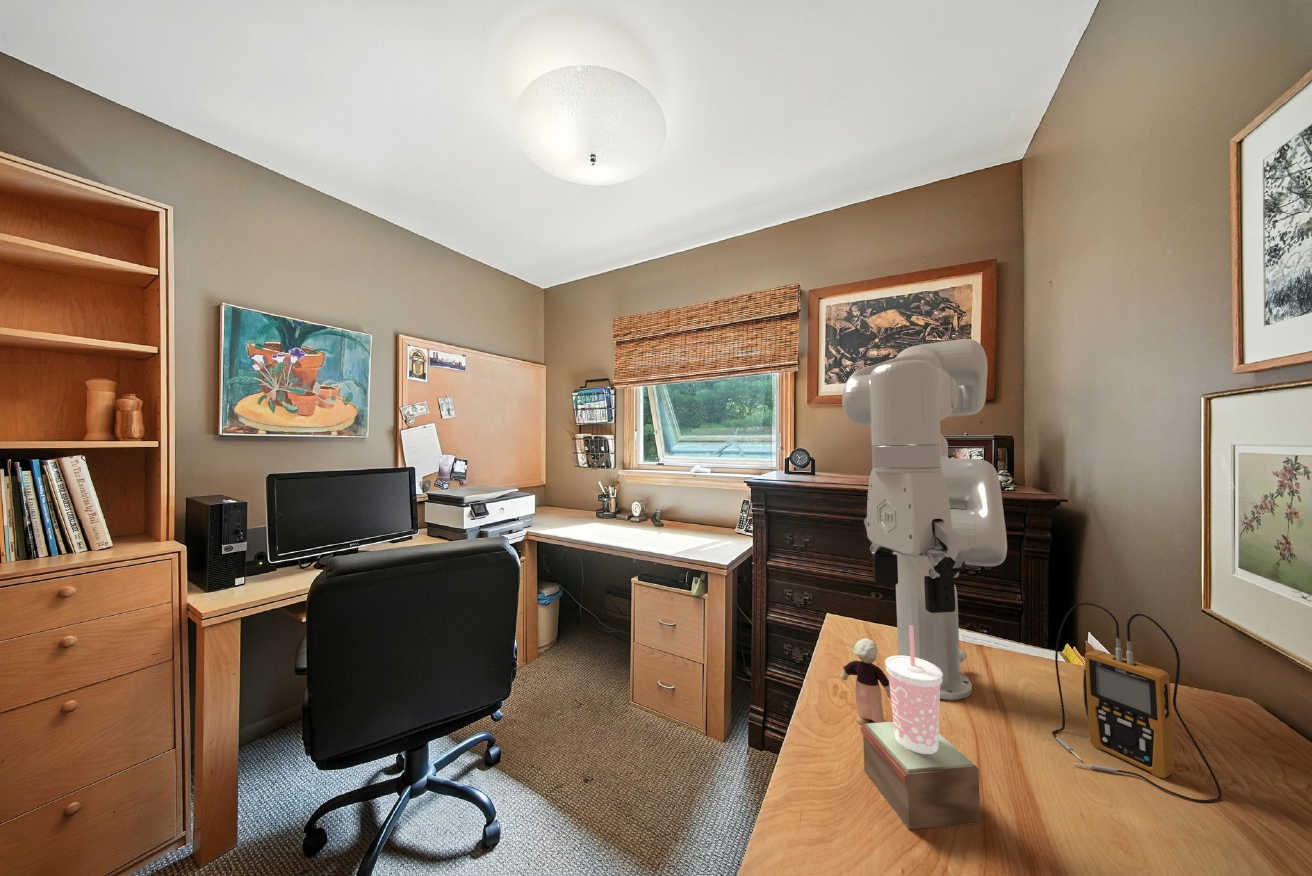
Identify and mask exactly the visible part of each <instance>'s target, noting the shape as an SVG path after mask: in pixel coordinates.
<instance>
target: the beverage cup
mask: <svg viewBox="0 0 1312 876" xmlns="http://www.w3.org/2000/svg"><path fill="white" fill-rule="evenodd" d="M909 636H910V656H904V655H900V656H898V655H891V656H888V657H887V658H885V660H884V663H885V669H886V672H887V673H888V680H889V685H890V695H891V699H890V700H891V701H890V705H891V711H892V722H893V724H894V733H895V738H896V740H897V741H898V742H899V743H900V744H901V745H902V746H904V747H905V748H907V749H909V750H912V751H914V752H917V753H922V754H933V753H935V752H937V750H938V741H939V734H940V732H939V731H940V705H941V703H940V701H941V699H940V685H941V683H942V681H943V680H942V677H943V674H942V672H941V670H940V669H939V668H938V667H937V666H935V665H934V664H932V663H930V662H928V661H925V660H923V659H919V658H916V657H915V651H914V627H913V626H911V625H909Z"/></svg>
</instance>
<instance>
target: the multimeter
mask: <svg viewBox="0 0 1312 876" xmlns="http://www.w3.org/2000/svg"><path fill="white" fill-rule="evenodd" d="M1085 605H1089V606H1094V607H1096V608H1098V609H1102V610H1103V611H1104V612H1106V613H1108V614H1109V616H1110V617H1111V618H1112V619H1113V621H1114V623H1115V631H1116V638H1115V640H1116V641H1115V642H1116V643H1115V644H1116V647H1115V654H1112V653H1110V652H1109V653H1108V652H1106V651H1105V650H1099V649H1094V650H1091V651H1088V652H1086V653H1084V663H1085V666H1084V667H1085V668H1083V681H1082V682H1083V702H1084V708H1085V713H1086V716H1087V718H1088V728H1089V729H1088V730H1089V742H1090V744H1091V745H1092V746H1093V747H1094V748H1097V749H1098V750H1100V751H1104V752H1106V753H1109V754H1111V755H1113V756H1115V757H1118V758H1119V759H1122V760H1123V761H1126V762H1127V763H1129V764H1132V765H1134V766H1136V767H1138V768H1141V769H1143V770H1145V771H1147V772H1149V773H1151V775H1153V776H1155V777H1158V778H1160V779H1165V778H1168V777H1169V776H1170V775H1171V774H1173V773H1174V772H1175V760H1174V755H1175V753H1174V736H1173V735H1174V734H1173V733H1174V732H1173V716H1172V715H1173V713H1172V704H1173V709H1174V712H1175V715H1177V718H1178V719H1179V721H1180V723H1181V724H1182V726H1183V728H1184V730H1185V731H1186V733H1187V735H1188V736H1189V738H1190V740H1191V742H1193V744H1194V746H1195V748H1196V750H1197V751H1198V753H1199V755H1200V756H1201V758H1202V759H1203V760H1202V761H1204V764H1205V765H1206V767H1207V769H1208V771H1209V773H1210V774H1211V777H1212V779H1213V781H1214V784H1215V787H1216V788H1217V794H1218V795H1217V796H1216V797H1215V798H1210V799H1209V798H1208V799H1197V798H1194V797H1189V796H1185V795H1182V794H1179V793H1177V792H1173V791H1172V790H1169V789H1167V788H1165V787H1163V786H1161V785H1158V784H1157V783H1155V782H1153V781H1151V780H1150V779H1149V778H1148V777H1145V776H1143V775H1141V774H1138V773H1136V772H1131V771H1127V770H1121V769H1117V768H1113V767H1109V766H1102V765H1096V764H1092V763H1089V764H1082V763H1077V762H1073V763H1072V765H1076V766H1079V767H1080V766H1082V767H1087V768H1089V769H1091V770H1098V771H1102V772H1103V771H1104V772H1108V773H1109V772H1110V773H1122V774H1127V775H1133V776H1137V777H1138V778H1142V779H1143V780H1145V781H1147V782H1148V783H1150V784H1152V785H1153V786H1155V787H1157V788H1159V789H1160V790H1162V791H1164V792H1167V793H1169V794H1172V795H1175V796H1176V797H1180V798H1183V799H1185V800H1188V801H1193V802H1198V803H1213V802H1214V803H1215V802H1218V801H1221V799H1222V798H1223V794H1222V788H1221V786H1220V784H1219V781H1218V779H1217V777H1216V776H1215V773H1214V771H1213V770H1212V767H1211V766H1210V764H1209V763H1208V760H1207V759H1206V757H1205V754H1204V753H1203V751H1202V750H1201V748H1200V747H1199V744H1197V742H1196V740H1195V739H1194V736H1193V735H1192V733H1191V732H1190V729H1189V728H1188V726H1187V725H1186V723H1185V721H1184V720H1183V718H1182V716H1181V715H1180V712H1179V711H1178V707H1177V693H1178V687H1179V682H1180V681H1179V680H1180V670H1181V658H1180V653H1179V650H1178V648H1177V646H1176V644H1175V642H1174V641H1173V638H1172V637H1171V635H1170V634H1169V633H1167V631H1166V630H1165V629H1164V627H1162V626H1161V625H1160V624H1159V623H1158V622H1157V621H1156V620H1154V619H1153V618H1151V617H1149V616H1148V615H1146V614H1144V613H1136V614H1133V615H1132V616H1131V617H1129V618H1128V621H1127V624H1126V638H1127V640H1126V648H1127V650H1126V658H1124V657H1123V650H1122V649H1123V648H1121V638H1120V630H1119V629H1120V627H1119V625H1120V624H1119V623H1118V620H1117V618H1116V617H1115V616H1114V615H1113V614H1112V613H1111V612H1110V611H1109V610H1108V609H1106V608H1104V606H1103V607H1102V606H1101V605H1098V604H1096V603H1089V602H1079V603H1077V604H1076V605H1073V606H1072V607H1071V608H1070V609H1069V610H1068V611H1067V612H1066V614H1065V616H1064V617H1063V619H1062V622H1061V624H1060V626H1059V630H1058V634H1057V638H1056V644H1055V653H1054V655H1055V657H1054V661H1055V671H1056V679H1057V686H1058V691H1059V699H1060V705H1061V706H1060V707H1061V713H1062V714H1061V715H1062V725H1061V727H1060V728H1058V729H1055V730H1052V731H1051V735H1052V736H1053V737H1054V738H1055V739H1056V740H1057V741H1058V742H1059V743H1060V744H1061V745H1062V746H1063V747H1064V748H1065V749H1066V750H1067V751H1068V752H1069V753H1072V754H1073V755H1074V756H1075V757H1076V758H1077V759H1079V760H1080V761H1082V759H1081V757H1080V756H1079V755H1077V753H1076V752H1074V748H1071V746H1069V745H1068V744H1067V743H1066V742H1065V741H1064V740H1063V739H1061V738H1060V737H1059V736H1057V735H1056V734H1055V733H1058V732H1062V731H1063V730H1065V726H1066V718H1065V717H1066V715H1065V706H1064V701H1063V693H1062V687H1061V680H1060V673H1059V664H1058V663H1059V662H1058V661H1059V658H1058V657H1059V656H1058V654H1059V644H1060V639H1061V634H1062V631H1063V628H1064V625H1065V623H1066V621H1067V619H1068V617H1069V616H1070V613H1072V612H1073V611H1074V610H1075V609H1076V608H1077V607H1080V606H1085ZM1136 617H1144V618H1146V619H1148V620H1150V622H1152V623H1153V624H1154V625H1156V626H1157V627H1158V628H1159V629H1160V630H1161V631H1162V632H1163V633H1164V635H1165V636H1166V637H1167V638H1168V641H1170V644H1171V646H1172V647H1173V649H1174V652H1175V657H1176V658H1175V659H1176V672H1175V681H1174V686H1173V688H1174V689H1173V695H1171V681H1170V673H1168V672H1167V671H1165V670H1164V669H1161V668H1159V667H1156V666H1150V665H1148V664H1147V665H1146V664H1144V663H1141V662H1138V661H1134V652H1133V650H1132V649H1133V648H1132V641H1131V623H1132V621H1133V619H1134V618H1136ZM1171 696H1172V697H1171ZM1171 698H1172V699H1171Z"/></svg>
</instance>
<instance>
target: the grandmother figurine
mask: <svg viewBox="0 0 1312 876" xmlns="http://www.w3.org/2000/svg"><path fill="white" fill-rule="evenodd" d="M853 649H854V650H853V653H854V654H855V655H856V656H858V659H860V660H852V661H850V662H848V663H847V664H846V665H844V666H843V670H842V673H841V674H840V678H841V680H843V681H847V680H848V679H849V676H856V679H855V703H856V711H857V712H856V713H857V716H856V722H857V723H858V724H859V725H861V726H863V725H864V724H867V723H871V722H872V723H881V722H887V720H885V717H884V715H885V714H884V708H883V698H882V689H881V686H882V687H883V689H884V691H885V692H886V696H887V698H889V699H890V700H891V695H890V685H889V678H888V677H887V675H886V674H885V673H884V671H883V670H882V669H881V668H880V667H879V666H877V665H876V664H874V662H875V661H876V658H877V654H878V649H877V644H876V643H875V642H874V641H873V640H871V639H869V638H868V637H867V638H862V639H860V640H858V641H857V642H856V643H855V645H854V648H853ZM879 683H880V684H879ZM880 685H881V686H880Z"/></svg>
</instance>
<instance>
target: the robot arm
mask: <svg viewBox="0 0 1312 876" xmlns="http://www.w3.org/2000/svg"><path fill="white" fill-rule="evenodd" d="M987 382H988V358H987V354H986V351H985V349H984V348H983V346H982V344H981V343H979V342H978V341H977V340H975V339H972V338H960V339H955V340H953V339H952V340H946V341H939V342H931V343H930V342H929V343H924V344H922V343H921V344H917V345H912V346H909V347H907V348H905V349H903V350H902V351H900V352H899V353H898V354H897V355H896V357H894V358H891V359H888V360H885V361H883V362H879V363H876V364H873V365H870V366H869V365H868V366H867V367H866V366H865V367H863V368H860V369H858V370H856V371H855V372H853V373H852V374H851V375H850V376H849V377H848V379H847V380H846V382H845V384H844V387H843V390H842V399H841V404H842V409H843V413H844V415H845V417H846V418H847V420H849V421H850V422H851V423H853V424H854V425H857V426H858V425H860V426H870V434H871V462H872V470H870V474H869V481H868V486H867V487H868V490H867V501H866V502H867V504H866V517H865V518H864V519H863V524H864V526H865V529H866V538H867V540H868V542H869V544H870V546H869V551H870V553H871V554H872V566H873V567H872V570H873V571H872V572H873V573H872V574H873V584H874V585H877V586H892V585H893V586H895V597H896V598H895V599H896V600H895V601H896V627H897V628H896V629H897V650H898V651H897V652H898V654H897V656H900V655H904V656H910V636H909V625H911V626H913V627H914V651H915V657H916V658H919V659H923V660H925V661H928V662H930V663H932V664H934V665H935V666H937V667H938V668H939V669H940V670H941V672H942V674H943V677H942V680H943V681H942V683H941V685H940V700H951V701H952V700H962V699H965V698H968V697H970V695H972V691H973V686H972V682H971V681H970V679H969V678H968V677H967V676H966V674H963V673H962V672H961V663H962V662H965V661H966V660H967V658H968V655H967V653H966V652H965V651H964V650H962V649H960V634H959V630H960V629H959V628H960V627H959V609H958V608H959V606H958V604H959V603H958V591H957V587H956V586H957V585H956V584H955V578H958V577H959V575H960V571H961V570H962V569H963V568H964V567H965V566H966V565H967V566H968V565H969V566H979V567H996V566H999V565H1001V564H1003V562H1005V560H1006V558H1007V552H1008V541H1007V539H1008V538H1007V529H1006V522H1005V515H1004V506H1003V504H1004V503H1003V497H1002V489H1001V483H1000V478H999V473H998V472H997V470H996V467H994V465H993V464H992V463H990V462H989V461H987V460H983V459H979V458H950V457H949V443H948V441H947V439H946V438H945V436H944V435H943V434H942V433H941V421H943V420H944V419H947V418H948V417H961V416H971V415H975V414H978V413H979V412H980V411H981V410H982V409H983V408H984V407H985V404H986V399H987Z"/></svg>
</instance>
